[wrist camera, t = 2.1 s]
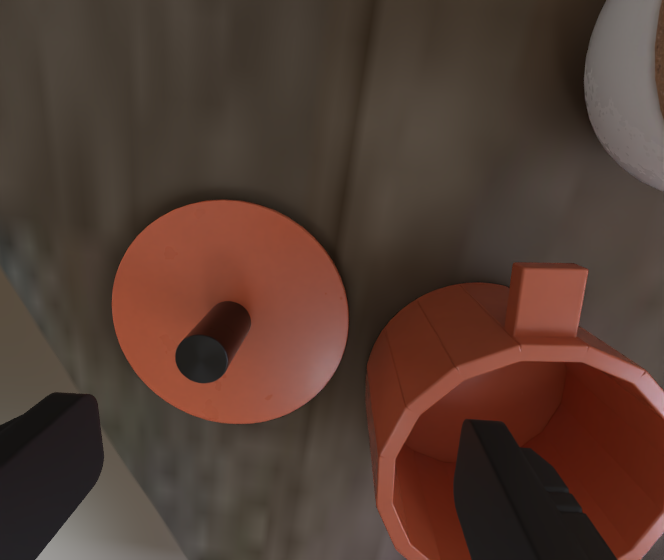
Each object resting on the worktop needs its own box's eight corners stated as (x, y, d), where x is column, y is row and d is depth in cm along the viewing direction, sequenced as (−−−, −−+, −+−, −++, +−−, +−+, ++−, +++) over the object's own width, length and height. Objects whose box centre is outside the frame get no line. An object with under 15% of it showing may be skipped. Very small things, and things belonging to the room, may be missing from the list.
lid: (136, 411, 26) (77, 480, 20) (106, 196, 22) (25, 206, 16) (346, 416, 25) (347, 487, 20) (351, 199, 22) (355, 210, 16)
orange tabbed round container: (361, 497, 27) (369, 640, 19) (370, 233, 22) (387, 270, 14) (548, 502, 27) (639, 650, 18) (597, 236, 22) (750, 275, 14)
